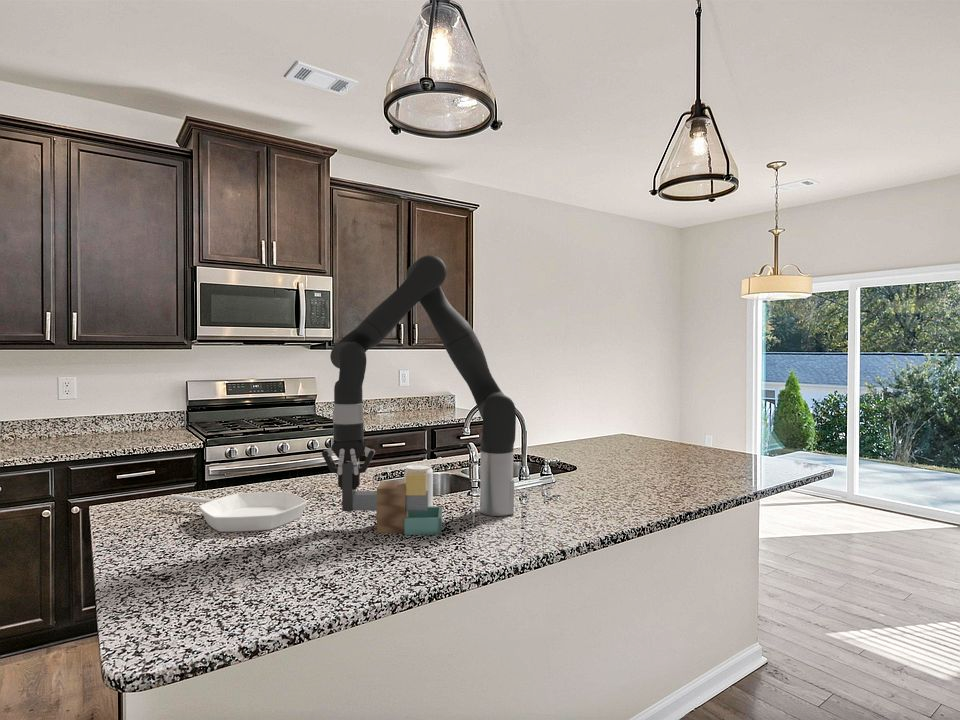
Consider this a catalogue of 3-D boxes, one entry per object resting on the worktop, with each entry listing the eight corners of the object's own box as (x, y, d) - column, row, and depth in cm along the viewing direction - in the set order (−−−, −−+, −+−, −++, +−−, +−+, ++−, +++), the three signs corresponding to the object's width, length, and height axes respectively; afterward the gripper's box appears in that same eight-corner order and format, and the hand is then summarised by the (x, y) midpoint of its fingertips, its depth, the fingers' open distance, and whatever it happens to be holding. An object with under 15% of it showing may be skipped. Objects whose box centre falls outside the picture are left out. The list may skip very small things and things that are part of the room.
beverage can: (428, 513, 166) (428, 470, 166) (400, 511, 168) (400, 468, 167) (436, 505, 174) (436, 464, 174) (409, 503, 176) (409, 463, 175)
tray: (442, 521, 159) (442, 506, 158) (441, 534, 148) (441, 518, 147) (408, 521, 158) (408, 506, 158) (404, 534, 147) (404, 518, 147)
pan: (255, 541, 142) (255, 522, 142) (128, 522, 156) (128, 505, 156) (324, 511, 168) (324, 495, 168) (209, 497, 182) (209, 482, 182)
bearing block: (407, 523, 157) (407, 481, 156) (405, 532, 149) (405, 488, 148) (380, 523, 156) (380, 481, 156) (376, 532, 148) (376, 488, 148)
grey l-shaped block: (428, 505, 155) (428, 459, 155) (427, 511, 150) (427, 463, 150) (345, 505, 154) (345, 459, 154) (342, 511, 149) (342, 463, 149)
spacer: (426, 490, 155) (426, 471, 155) (425, 495, 150) (425, 475, 150) (407, 490, 155) (407, 471, 155) (405, 495, 150) (405, 475, 150)
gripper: (378, 419, 155) (378, 485, 156) (323, 419, 155) (324, 485, 155) (374, 422, 148) (374, 492, 148) (317, 423, 147) (317, 493, 148)
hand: (348, 488), depth 152 cm, fingers closed on grey l-shaped block, 2 cm apart
